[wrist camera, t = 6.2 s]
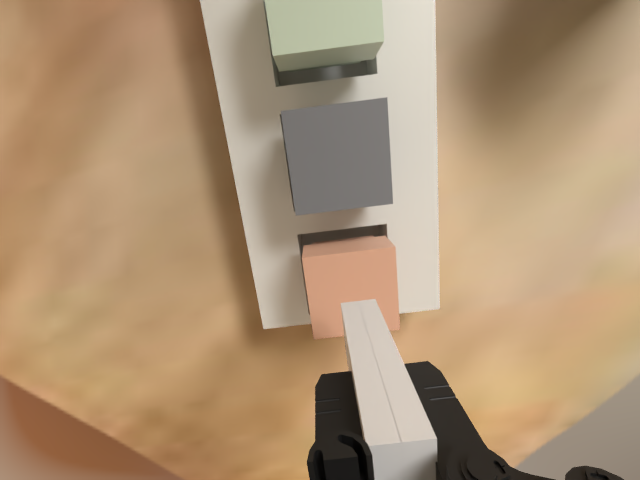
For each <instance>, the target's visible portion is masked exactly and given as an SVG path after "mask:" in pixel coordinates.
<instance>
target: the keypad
mask: <svg viewBox="0 0 640 480" xmlns="http://www.w3.org/2000/svg"><path fill="white" fill-rule="evenodd" d="M200 4H201V9H202V14H203V19H204V24H205V30H206V35H207V40H208V45H209V50H210V55H211V61H212V66H213V71H214V76H215V81H216V86H217V92H218V97H219V102H220V107H221V112H222V117H223V123H224V128H225V133H226V138H227V143H228V148H229V154H230V159H231V164H232V169H233V174H234V179H235V185H236V190H237V195H238V200H239V205H240V210H241V216H242V221H243V226H244V231H245V236H246V241H247V247H248V252H249V257H250V262H251V267H252V272H253V278H254V283H255V288H256V293H257V298H258V303H259V309H260V314H261V319H262V324H263V329H271V328H279V327H288V326H297V325H305V324H311V318H310V311H309V304H308V297H307V290H306V283H305V276H304V269H303V262H302V253H303V246H304V245H311V244H312V243H314V242H322V241H330V240H339V239H347V238H355V237H363V236H372V235H373V236H374V237H377V236H386V237H387V238H388V239H389V240H390V241H391V242H392V243H393V244H394V246H395V247H396V264H397V282H398V300H399V314H401V313H409V312H418V311H427V310H435V309H440V289H439V221H438V153H437V85H436V18H435V0H382V10H383V29H384V43H383V44H382V46H381V48H380V49H379V51H378V53H377V55H376V56H375V58H374V59H372V60H364V61H361V62H360V63H355V64H347V65H340V66H332V67H324V68H317V69H309V70H301V71H294V72H289V71H280V72H279V70H278V68H277V65H276V63H275V60H274V58H273V54H272V47H271V40H270V33H269V27H268V20H267V13H266V6H265V0H200ZM386 97H387V101H388V119H389V137H390V155H391V173H392V192H393V204H388V205H380V206H371V207H363V208H355V209H347V210H339V211H330V212H322V213H314V214H306V215H298V216H296V214H295V207H294V200H293V193H292V186H291V179H290V172H289V165H288V158H287V151H286V144H285V137H284V130H283V124H282V117H281V111H284V110H292V109H300V108H308V107H315V106H323V105H331V104H339V103H347V102H354V101H362V100H370V99H378V98H386Z"/></svg>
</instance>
